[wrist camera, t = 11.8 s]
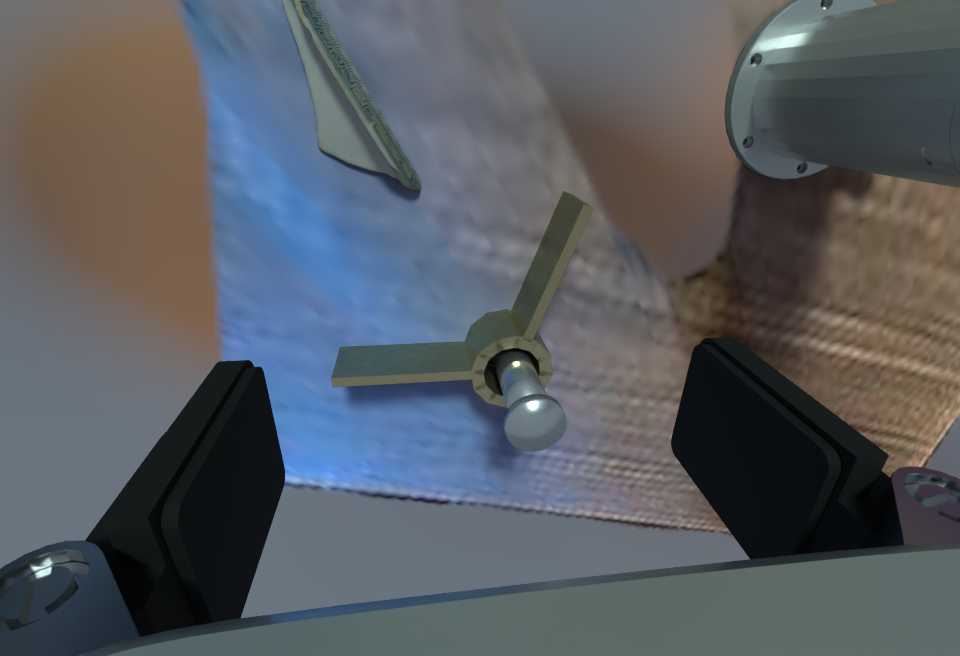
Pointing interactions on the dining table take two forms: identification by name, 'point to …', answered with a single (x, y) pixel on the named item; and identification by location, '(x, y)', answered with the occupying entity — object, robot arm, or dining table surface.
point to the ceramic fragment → (344, 100)
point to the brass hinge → (480, 326)
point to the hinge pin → (527, 403)
